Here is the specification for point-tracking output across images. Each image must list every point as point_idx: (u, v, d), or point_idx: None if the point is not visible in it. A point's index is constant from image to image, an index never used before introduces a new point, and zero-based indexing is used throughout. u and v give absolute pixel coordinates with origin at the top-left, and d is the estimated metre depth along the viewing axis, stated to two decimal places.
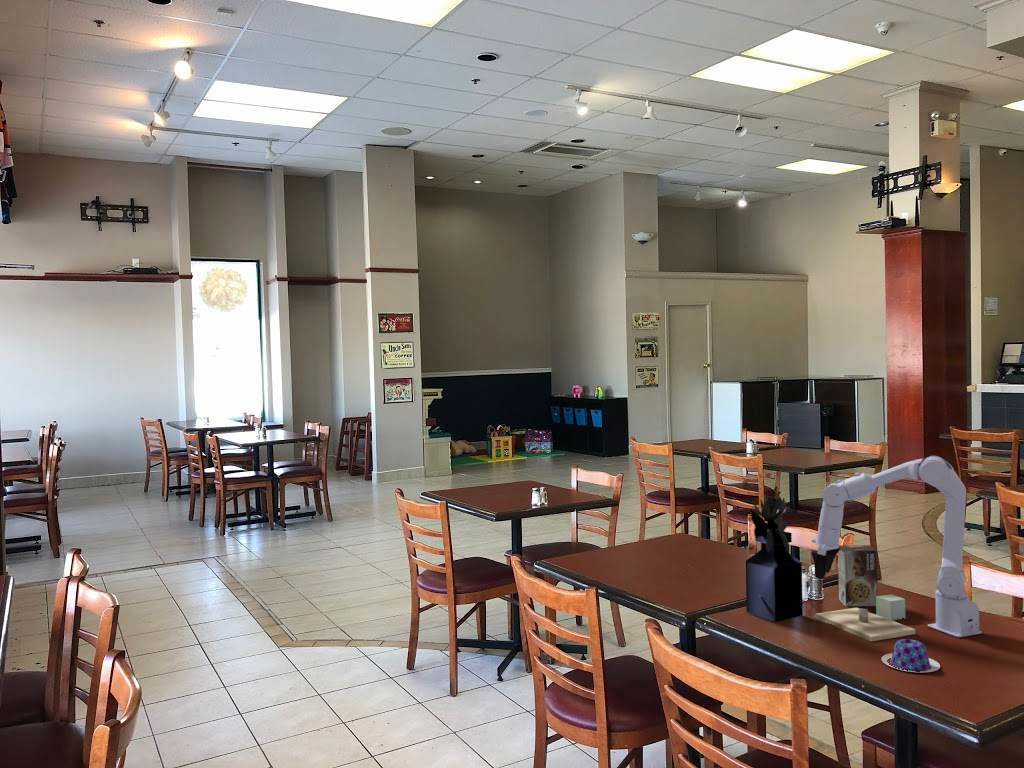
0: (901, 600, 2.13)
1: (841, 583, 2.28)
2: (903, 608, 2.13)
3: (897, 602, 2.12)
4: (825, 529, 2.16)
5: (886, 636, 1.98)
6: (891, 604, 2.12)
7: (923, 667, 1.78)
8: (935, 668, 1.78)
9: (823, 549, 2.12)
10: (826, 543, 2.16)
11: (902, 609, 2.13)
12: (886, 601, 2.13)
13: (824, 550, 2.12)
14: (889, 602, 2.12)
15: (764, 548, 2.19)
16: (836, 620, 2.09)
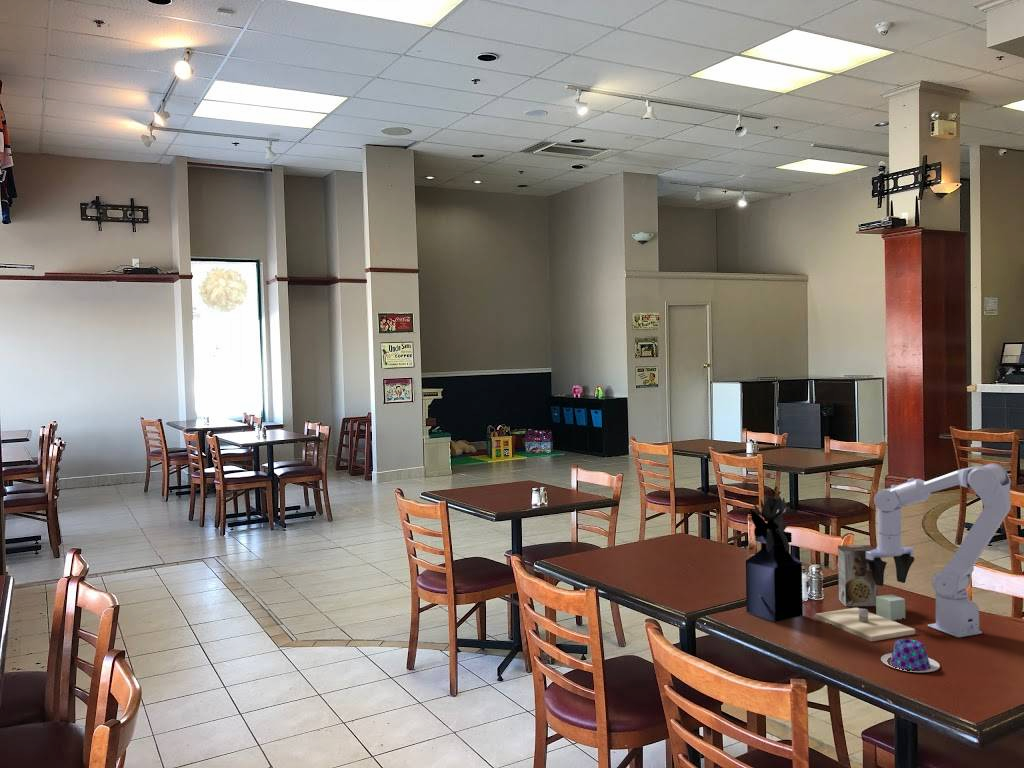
0: (901, 600, 2.13)
1: (841, 583, 2.28)
2: (903, 608, 2.13)
3: (897, 602, 2.12)
4: (879, 535, 2.14)
5: (886, 636, 1.98)
6: (891, 604, 2.12)
7: (923, 667, 1.78)
8: (935, 668, 1.78)
9: (869, 553, 2.12)
10: (882, 549, 2.13)
11: (902, 609, 2.13)
12: (886, 601, 2.13)
13: (870, 554, 2.12)
14: (889, 602, 2.12)
15: (764, 548, 2.19)
16: (836, 620, 2.09)
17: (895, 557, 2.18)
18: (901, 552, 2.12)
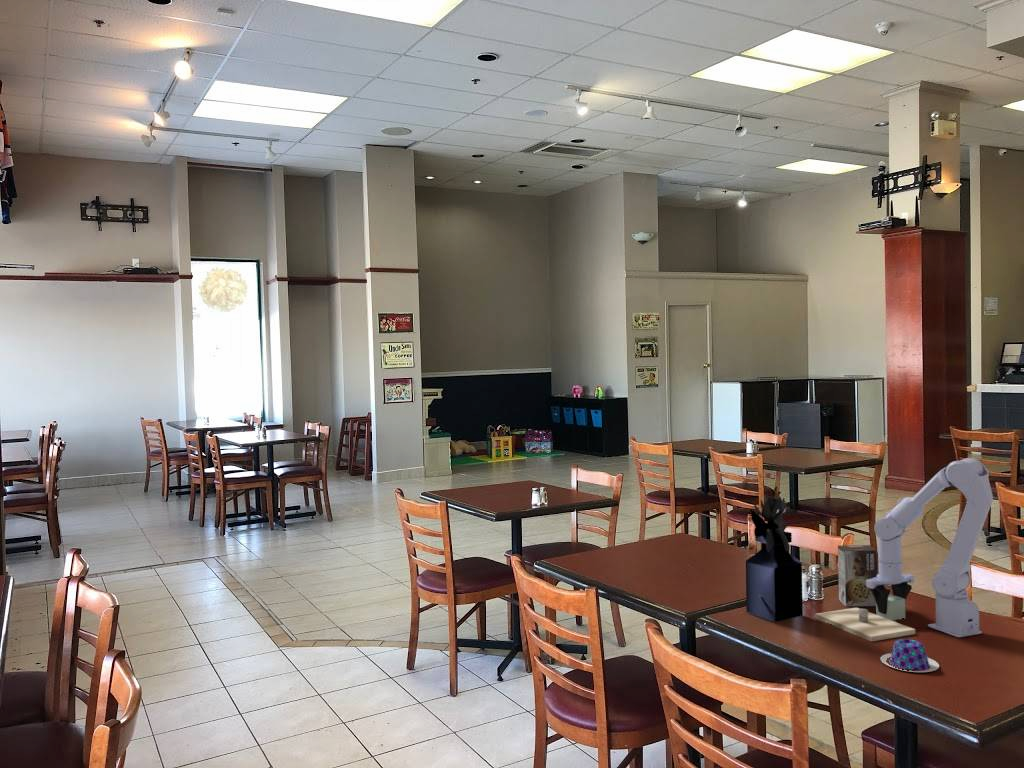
0: (901, 600, 2.13)
1: (841, 583, 2.28)
2: (903, 608, 2.13)
3: (897, 602, 2.12)
4: (880, 563, 2.14)
5: (886, 636, 1.98)
6: (891, 604, 2.12)
7: (922, 667, 1.78)
8: (934, 668, 1.78)
9: (869, 582, 2.12)
10: (882, 577, 2.14)
11: (902, 609, 2.13)
12: None
13: (870, 583, 2.12)
14: (889, 602, 2.12)
15: (764, 548, 2.19)
16: (836, 620, 2.09)
17: (892, 585, 2.17)
18: (901, 580, 2.13)
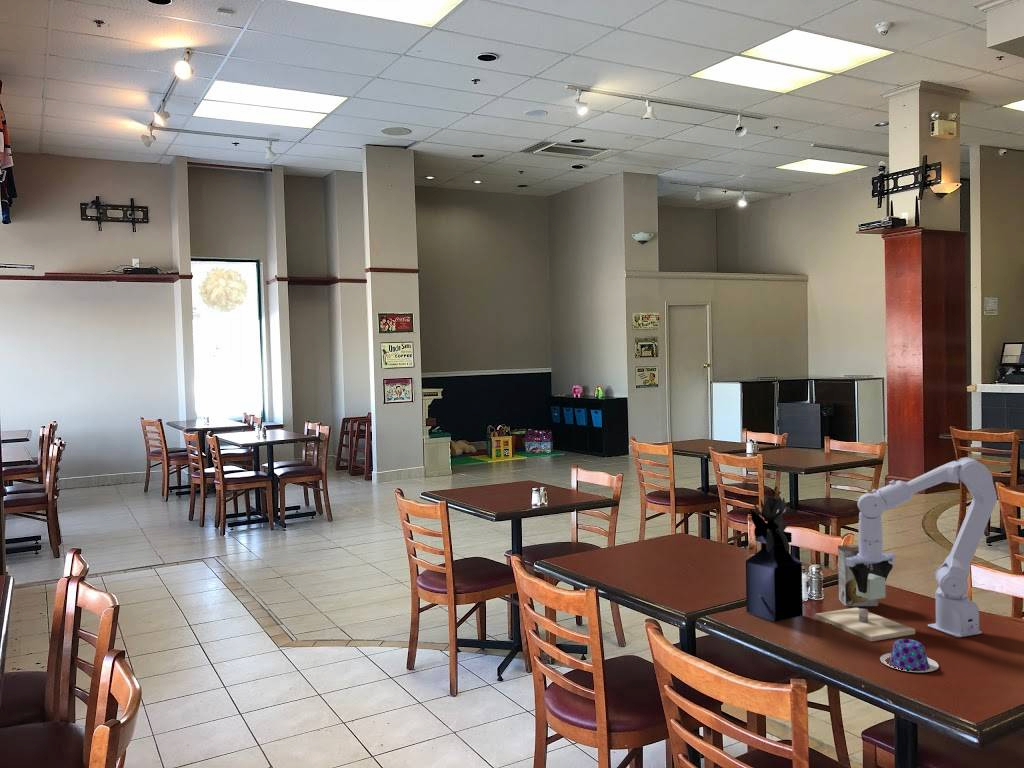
0: (881, 579, 2.08)
1: (841, 583, 2.28)
2: (883, 587, 2.08)
3: (877, 581, 2.08)
4: (860, 541, 2.10)
5: (886, 636, 1.98)
6: (871, 582, 2.07)
7: (922, 667, 1.78)
8: (934, 668, 1.78)
9: (849, 560, 2.07)
10: (862, 556, 2.09)
11: (882, 588, 2.08)
12: None
13: (850, 561, 2.07)
14: (869, 581, 2.07)
15: (764, 548, 2.19)
16: (836, 620, 2.09)
17: (873, 564, 2.13)
18: (882, 559, 2.08)
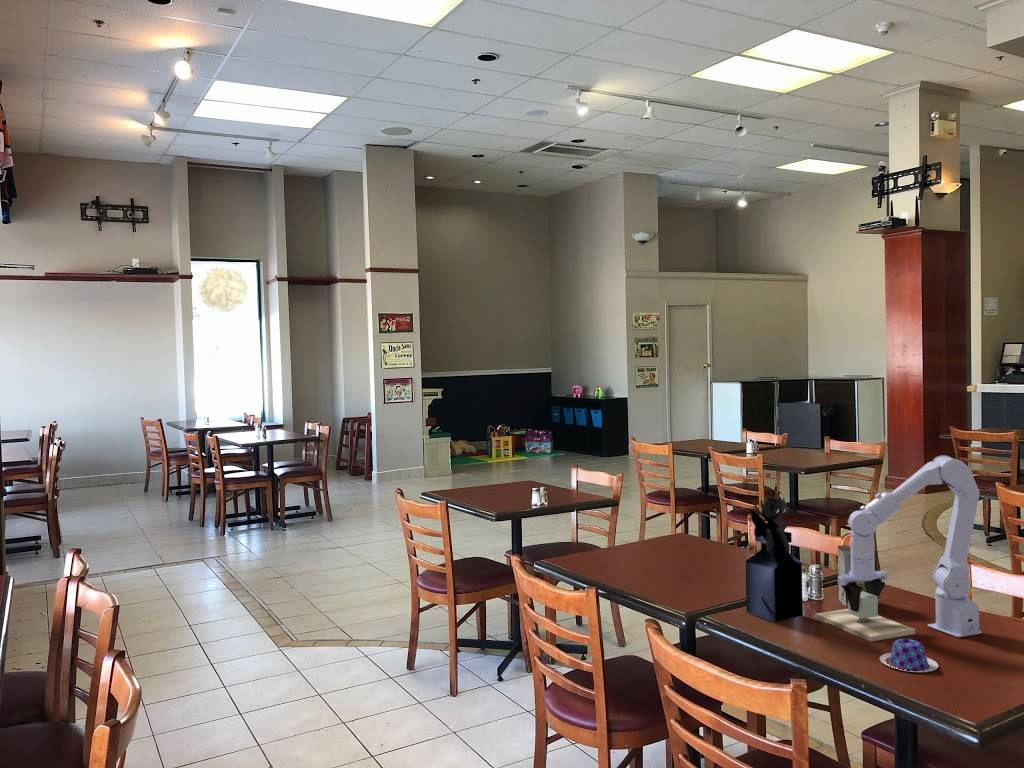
0: (873, 597, 2.06)
1: None
2: (875, 606, 2.06)
3: (869, 599, 2.06)
4: (852, 559, 2.07)
5: (886, 636, 1.98)
6: (863, 601, 2.05)
7: (921, 667, 1.78)
8: (933, 668, 1.78)
9: (841, 579, 2.05)
10: (854, 574, 2.07)
11: (874, 607, 2.06)
12: None
13: (842, 580, 2.05)
14: (861, 599, 2.05)
15: (764, 548, 2.19)
16: (836, 620, 2.09)
17: (865, 582, 2.11)
18: (874, 577, 2.06)
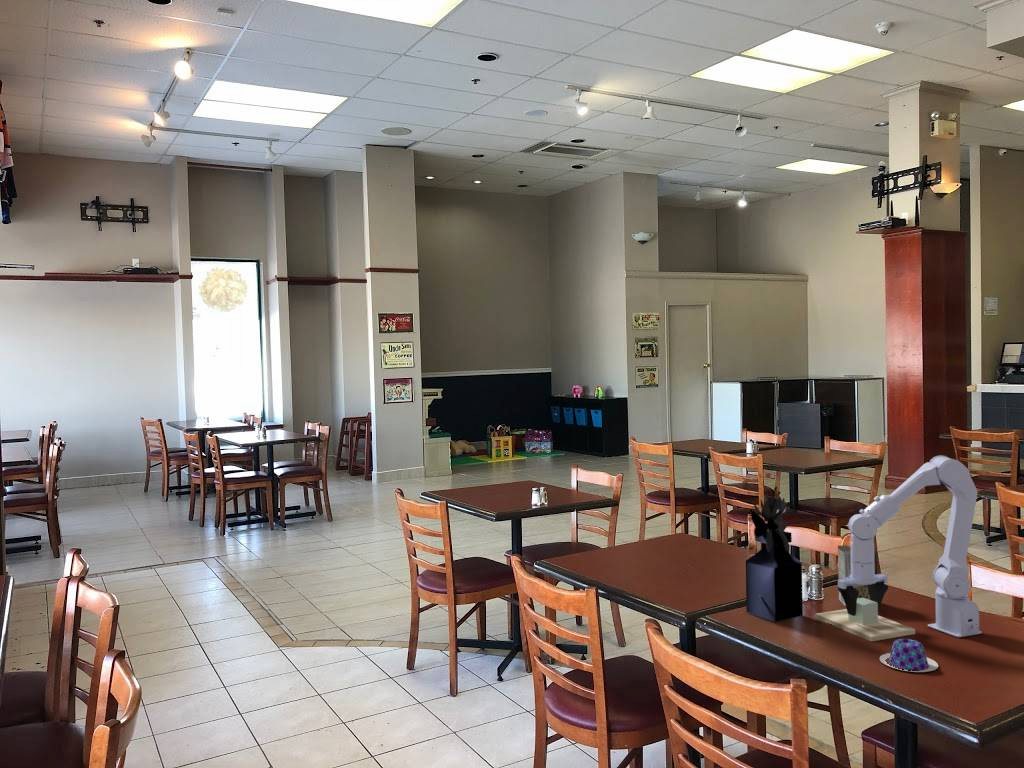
0: (873, 604, 2.06)
1: None
2: (876, 612, 2.07)
3: (869, 606, 2.06)
4: (852, 562, 2.07)
5: (886, 636, 1.98)
6: (863, 607, 2.05)
7: (922, 666, 1.78)
8: (933, 667, 1.78)
9: (841, 582, 2.05)
10: (854, 577, 2.07)
11: (875, 613, 2.06)
12: (858, 605, 2.06)
13: (842, 583, 2.05)
14: (861, 606, 2.05)
15: (764, 548, 2.19)
16: (836, 620, 2.09)
17: (869, 585, 2.11)
18: (874, 581, 2.06)
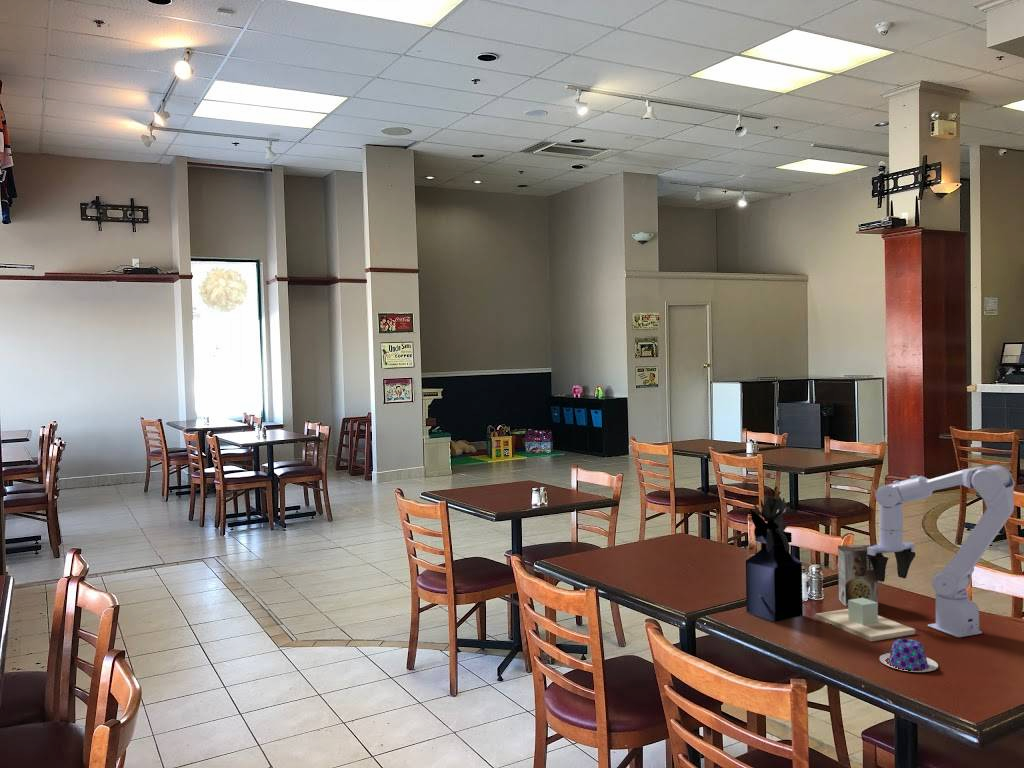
0: (873, 604, 2.06)
1: (841, 583, 2.28)
2: (876, 612, 2.07)
3: (869, 606, 2.06)
4: (881, 530, 2.14)
5: (886, 636, 1.98)
6: (863, 607, 2.05)
7: (922, 666, 1.78)
8: (933, 667, 1.79)
9: (871, 549, 2.11)
10: (883, 545, 2.13)
11: (875, 613, 2.06)
12: (858, 605, 2.06)
13: (872, 550, 2.11)
14: (861, 606, 2.05)
15: (764, 548, 2.19)
16: (836, 620, 2.09)
17: (896, 553, 2.17)
18: (902, 548, 2.12)
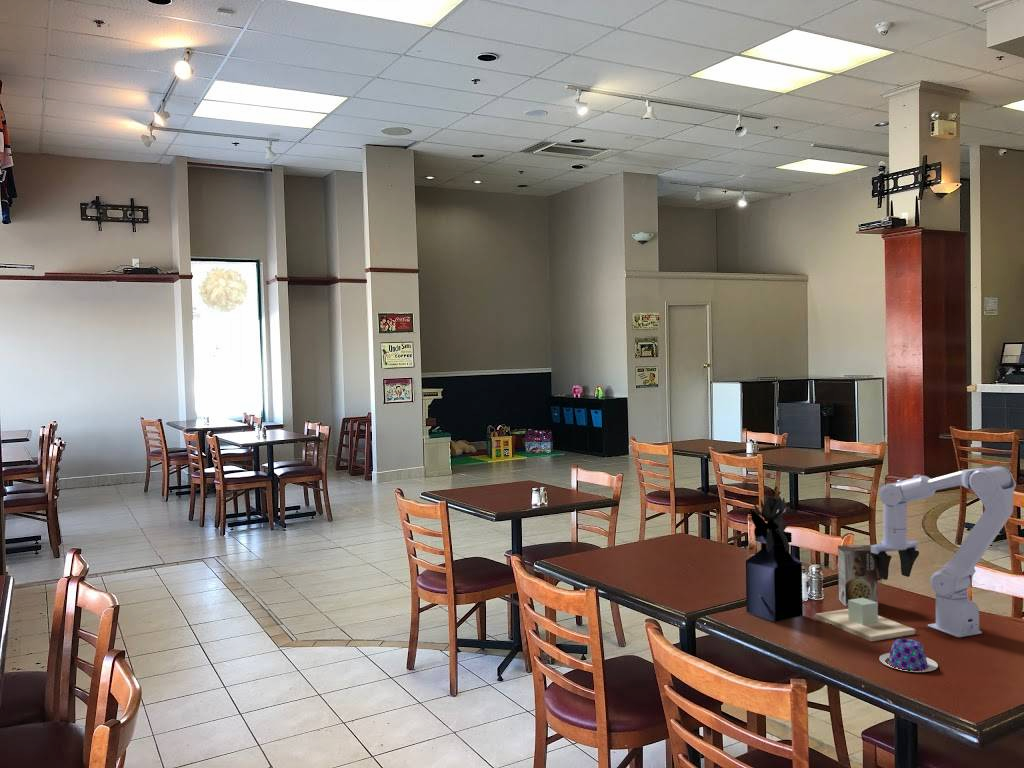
0: (873, 604, 2.06)
1: (841, 583, 2.28)
2: (876, 612, 2.07)
3: (869, 606, 2.06)
4: (884, 529, 2.15)
5: (886, 636, 1.98)
6: (863, 607, 2.05)
7: (923, 666, 1.78)
8: (933, 666, 1.79)
9: (874, 547, 2.13)
10: (887, 543, 2.14)
11: (875, 613, 2.06)
12: (858, 605, 2.06)
13: (875, 548, 2.12)
14: (861, 606, 2.05)
15: (764, 548, 2.19)
16: (836, 620, 2.09)
17: (900, 551, 2.18)
18: (906, 546, 2.13)
